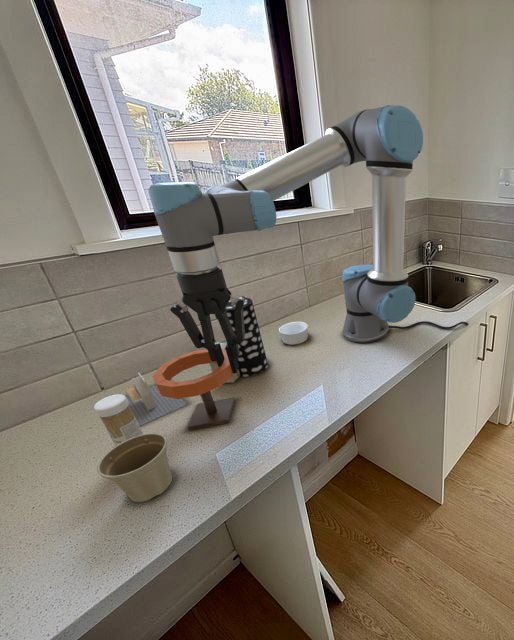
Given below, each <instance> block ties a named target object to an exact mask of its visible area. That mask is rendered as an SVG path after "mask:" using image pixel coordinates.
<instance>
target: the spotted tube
mask: <svg viewBox="0 0 514 640" xmlns="http://www.w3.org/2000/svg"><path fill="white" fill-rule="evenodd" d="M245 298H246V300H245V302H244V305H243V315H244V329H245V337H244V339H243V342H241V343H237V344H238V348H239V351H240V354H239V357H238V358H237V362H238V365H239V368H238V370H239V373H240V376H239V377H251V376H252V377H253V376H256V375H259V374H261V373H263V372H265V370H267V368H268V367H269V363H268V357H267V354H266V351H265V346H264V343H263V342H264V341H263V337H262V334H261V331H260V327H259V326H260V325H259V322H258V318H257V314H256V310H255V307H254V302H253V299H252V298H250V297H245ZM226 311H227V316H228V318H229V321H230V323H231V326H232V328H233V331H234V333H235V336H236V326H235V314H234V311H235V307H233V306H232V302H231V301H230V300H229V302H228V304H227V306H226ZM225 342H226V343H227V341H226V340H225Z"/></svg>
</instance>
